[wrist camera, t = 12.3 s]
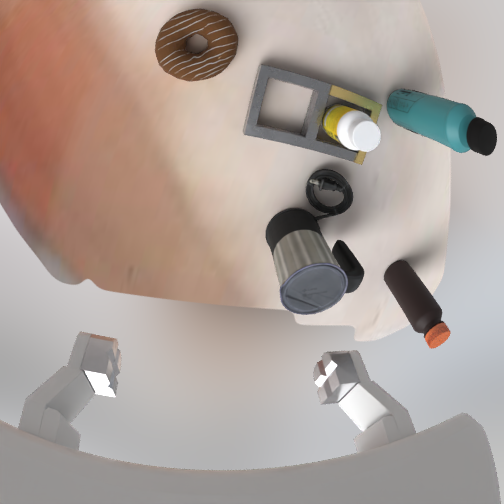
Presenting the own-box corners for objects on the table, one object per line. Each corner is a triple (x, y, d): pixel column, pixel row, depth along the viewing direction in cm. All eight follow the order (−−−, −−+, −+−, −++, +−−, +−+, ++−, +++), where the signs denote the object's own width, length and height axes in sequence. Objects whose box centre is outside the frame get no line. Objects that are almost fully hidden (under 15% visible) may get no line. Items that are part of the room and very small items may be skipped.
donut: (165, 11, 25) (159, 4, 21) (243, 16, 27) (245, 10, 23) (153, 79, 31) (145, 79, 27) (229, 85, 33) (229, 85, 29)
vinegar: (385, 287, 59) (424, 356, 43) (381, 268, 55) (425, 341, 39) (409, 274, 57) (452, 339, 41) (406, 254, 54) (456, 321, 37)
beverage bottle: (392, 131, 38) (479, 179, 22) (373, 98, 35) (466, 129, 18) (417, 112, 36) (507, 151, 20) (400, 79, 32) (497, 102, 16)
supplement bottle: (314, 130, 37) (340, 146, 29) (328, 98, 34) (358, 106, 27) (344, 143, 39) (374, 163, 31) (358, 113, 36) (392, 126, 28)
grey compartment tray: (258, 65, 31) (261, 64, 29) (373, 102, 35) (382, 104, 33) (242, 131, 37) (244, 135, 34) (354, 159, 40) (361, 164, 38)
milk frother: (266, 257, 50) (281, 320, 38) (257, 173, 41) (275, 221, 29) (341, 245, 50) (374, 302, 38) (346, 164, 41) (394, 206, 29)
